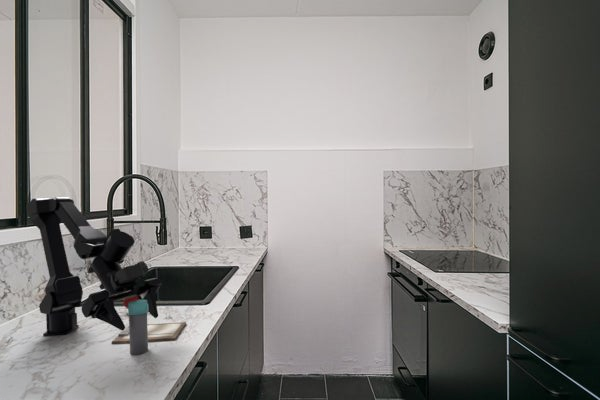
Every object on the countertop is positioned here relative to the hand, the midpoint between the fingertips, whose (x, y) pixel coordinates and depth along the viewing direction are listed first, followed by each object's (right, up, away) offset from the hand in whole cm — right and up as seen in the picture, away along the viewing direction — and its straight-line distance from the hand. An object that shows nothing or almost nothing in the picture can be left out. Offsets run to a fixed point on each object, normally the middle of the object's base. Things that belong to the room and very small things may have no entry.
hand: (141, 322), depth 86 cm
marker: (-1, -7, 0) cm, 7 cm away
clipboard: (-3, -7, +12) cm, 14 cm away
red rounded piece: (-17, -8, +33) cm, 38 cm away
